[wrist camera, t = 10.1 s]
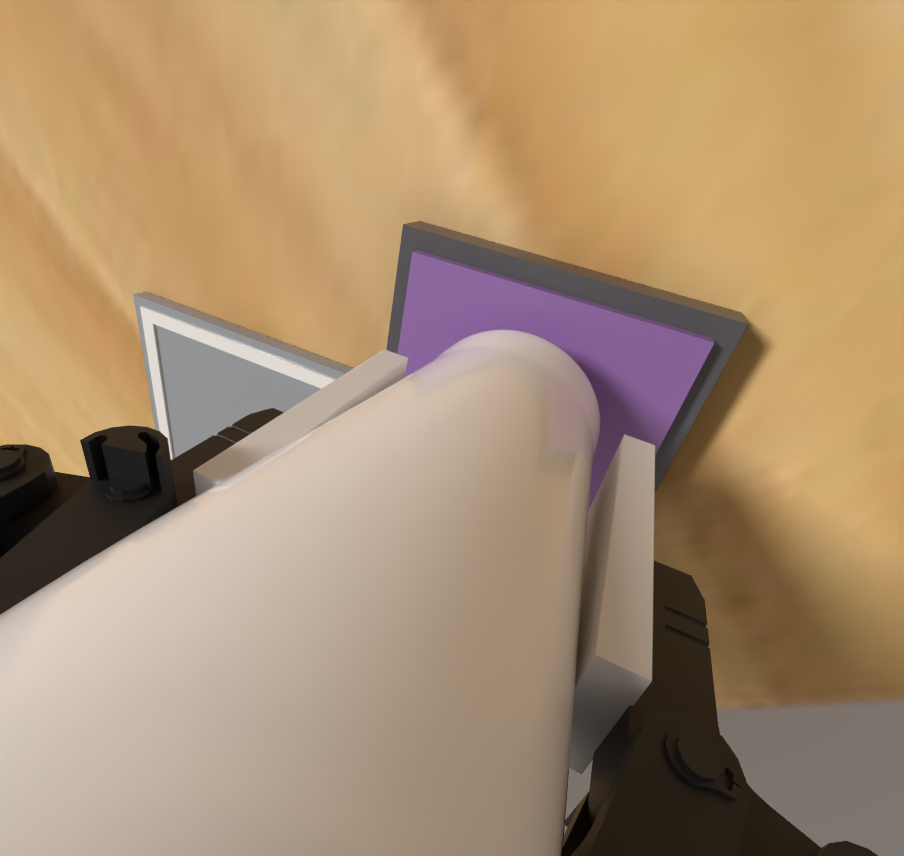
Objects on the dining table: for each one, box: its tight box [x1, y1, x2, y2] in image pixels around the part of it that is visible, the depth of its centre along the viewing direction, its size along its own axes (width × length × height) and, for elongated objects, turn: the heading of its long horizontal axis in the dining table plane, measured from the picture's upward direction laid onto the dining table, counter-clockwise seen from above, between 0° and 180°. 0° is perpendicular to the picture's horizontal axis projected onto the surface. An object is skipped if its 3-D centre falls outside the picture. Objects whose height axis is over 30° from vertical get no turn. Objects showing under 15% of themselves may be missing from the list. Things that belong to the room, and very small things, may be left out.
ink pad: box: [387, 221, 748, 509], centre depth 16 cm, size 10×8×2 cm
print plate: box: [133, 292, 353, 460], centre depth 23 cm, size 11×11×1 cm
